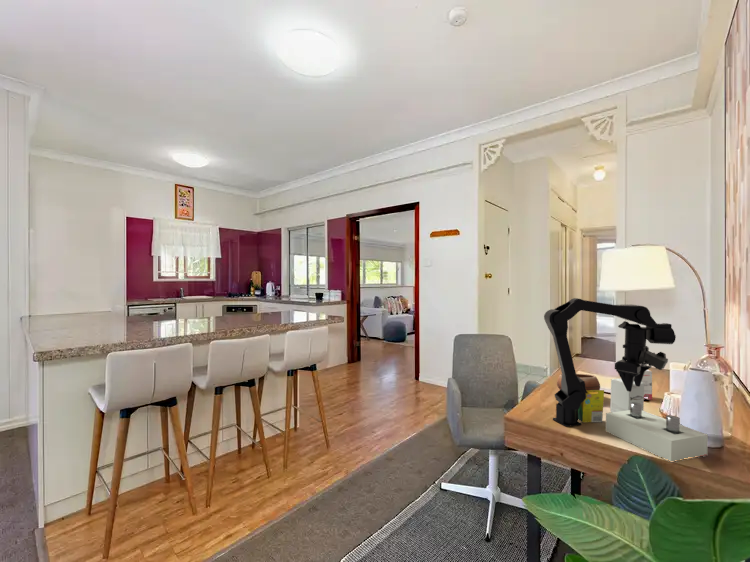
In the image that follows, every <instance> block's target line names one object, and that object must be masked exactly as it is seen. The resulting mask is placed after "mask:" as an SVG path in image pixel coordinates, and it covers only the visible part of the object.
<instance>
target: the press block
mask: <svg viewBox="0 0 750 562" xmlns="http://www.w3.org/2000/svg"><path fill="white" fill-rule="evenodd" d="M606 431H607V433H608V432H609V434H610V433H611V435H613V436H614V437H617V438H619V439H621V440H623V441H625V442H626V443H630V444H631V443H632V445H633V446H636V447H638V448H640V449H642V448H643V449H642V450H644V449H645V450H644V451H646V450H647V451H646V452H648V451H649V452H648V453H650V452H651V454H652V453H653V455H654V454H655V456H657V455H658V456H657V457H659V456H660V457H659V458H661V457H663V458H665V459H668V460H670V461H675V460H680V459H684V458H688V457H695V456H700V455H704V454H707V455H708V446H709V445H708V444H709V443H708V441H709V440H708V439H709V438H708V437H709V435H708V434H707V433H704V432H702V431H698V430H696V429H693V428H690V427H688V426H685V425H682V424H680V430H679V434H673V433H670V432H668V431H666V418H664V417H661V416H659V415H656V414H653V413H651V412H647V411H645V410H644V409H643V410H642V419H635V418H633V417H630V410H627V411H619V412H606V413H605V432H606ZM663 458H662V459H663ZM665 459H664V460H665Z"/></svg>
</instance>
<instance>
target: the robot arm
mask: <svg viewBox="0 0 750 562" xmlns="http://www.w3.org/2000/svg"><path fill="white" fill-rule="evenodd" d="M581 311H583V312H589V313H590V312H592V313H598V314H602V315H609V316H613V317H614V316H615V317H617V318H620V319H622V320H625V321H623V322H622V323H620V324H618V325H617V327H618V328H619V329H623V330H624V344H622V348H623V349H624V355H623V356H622V359H621V360H618V361H616V362H615V363H614V370H615V371H616V372H617V373H618V375H619V377H620V378H621V379H622V381H623V383H624V386H625V388H626V390H627V391H629V392H631V390H632V387H633V382H635V385H636V386H640V385H641V382H642V379H643V376H644V373H645V371H646V370H649V369H652V367H653V368H655V369H657V370H660V371H661V370H663V369H665V367H666V365H667V364H668V362H669V358H667V355H666V353H664V352H662V351H659V352H657V353H655V352H651V351H649V350H650V348H649V346H648V345H647V341H648V343H650V344H655V345H656V344H658V345H659V344H660V345H673V344H674V343H675V342H676V337H677V336H676V333H675V331H674V329H673V327H672V326H673V325H672V324H671V323H666V322H665V323H664V322H662V323H657V322H656V321H655V320H654V318H653V317H652V315H651V311H650V310H649V309H648V307H646V306H643V305H639V304H611V303H605V302H604V303H603V302H599V301H591V300H585V299H582V298H576V297H573V298H571V299H570V300H569V301H567V302H565V303H562V304H561V305H559V306H557V307H555V308H553V309H548V310H547V311H546V312H545V313H544V314H543V319H544V322H545V324H546V326H547V328H548V330H549V332H550V334H551V335H552V338H553V343H554V346H555V350H556V354H557V358H558V363H559V366H560V371H561V374H562V379H561V389H558V391H557V392H555V393H554V398H555V400H556V401H557V403H556V404H555V406H556V409H555V417H552V421H555V422H557V423H558V424H560V425H563V426H564V427H567V428H568V427H569V428H570V427H574V426H581V425H582V422H581V421H580V422H579V419H578V409H579V408H580V405H581V403H582V402H583V401H584V400H585V399H586V393H588V392H587V391H586V389H585V382H584V381H583V380H582V379H581V378H579V377H577V375H576V368H575V364H574V359H573V355H572V352H571V347H570V343H569V340H568V329H569V324H568V323H569V321H570V320H572V319H573V317H575V316H576V315H577V314H578V313H579V312H581ZM628 321H629V322H633V323H629V322H628ZM641 325H642V326H641ZM644 326H645V327H644Z"/></svg>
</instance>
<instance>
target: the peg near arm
mask: <svg viewBox="0 0 750 562" xmlns="http://www.w3.org/2000/svg"><path fill="white" fill-rule="evenodd" d="M630 417H633V418H635V419H642V404H640V403H636V402H631V403H630Z"/></svg>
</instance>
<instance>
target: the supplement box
mask: <svg viewBox="0 0 750 562" xmlns="http://www.w3.org/2000/svg"><path fill="white" fill-rule="evenodd" d="M644 400H645V399H644V383H642V382H641V385H640V386H636V385H635V382H633V387H632V390H631V392H629V391H627V390H626V388H625V386H624V383H623V381H622V379H621V377H620V378H611V379H610V411H609V413H611V412H619V411H627V410H630V403H631V402H636V403H640V404H642V410H643V411H644V407H645V406H644Z"/></svg>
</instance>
